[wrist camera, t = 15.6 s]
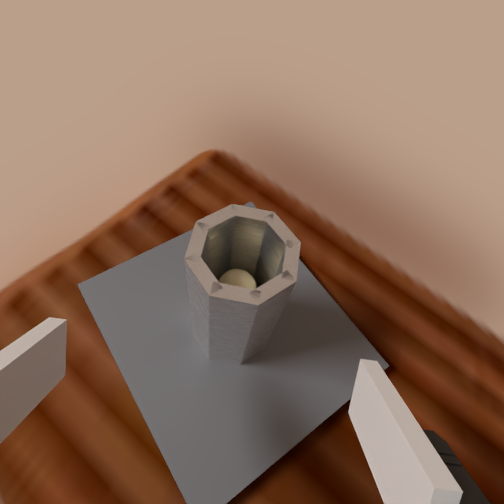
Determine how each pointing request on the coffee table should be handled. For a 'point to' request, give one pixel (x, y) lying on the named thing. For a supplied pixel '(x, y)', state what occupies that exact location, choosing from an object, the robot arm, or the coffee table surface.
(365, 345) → the post plate
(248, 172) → the coffee table surface
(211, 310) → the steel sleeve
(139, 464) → the coffee table surface
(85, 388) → the coffee table surface
